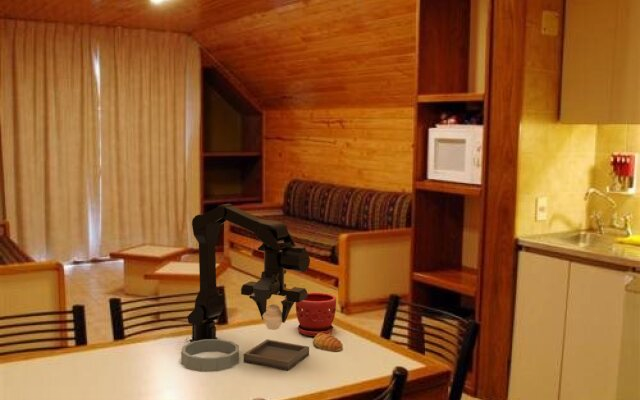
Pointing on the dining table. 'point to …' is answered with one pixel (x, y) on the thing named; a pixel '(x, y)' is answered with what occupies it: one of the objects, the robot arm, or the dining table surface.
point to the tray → (276, 354)
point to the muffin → (273, 317)
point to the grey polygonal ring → (210, 362)
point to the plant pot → (316, 313)
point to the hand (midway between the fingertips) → (273, 320)
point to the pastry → (327, 342)
